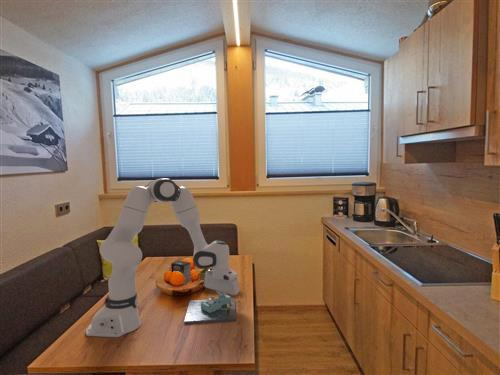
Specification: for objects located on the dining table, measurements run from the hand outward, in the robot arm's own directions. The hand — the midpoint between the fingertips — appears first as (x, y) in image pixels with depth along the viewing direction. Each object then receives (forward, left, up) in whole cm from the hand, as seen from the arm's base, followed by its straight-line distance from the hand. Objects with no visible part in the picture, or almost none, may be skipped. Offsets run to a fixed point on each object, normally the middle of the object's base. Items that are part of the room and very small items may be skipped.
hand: (221, 299), depth 165 cm
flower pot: (-8, +25, -3) cm, 27 cm away
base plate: (-5, -8, -3) cm, 9 cm away
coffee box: (-23, +20, -3) cm, 31 cm away
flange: (-2, -5, -1) cm, 6 cm away
